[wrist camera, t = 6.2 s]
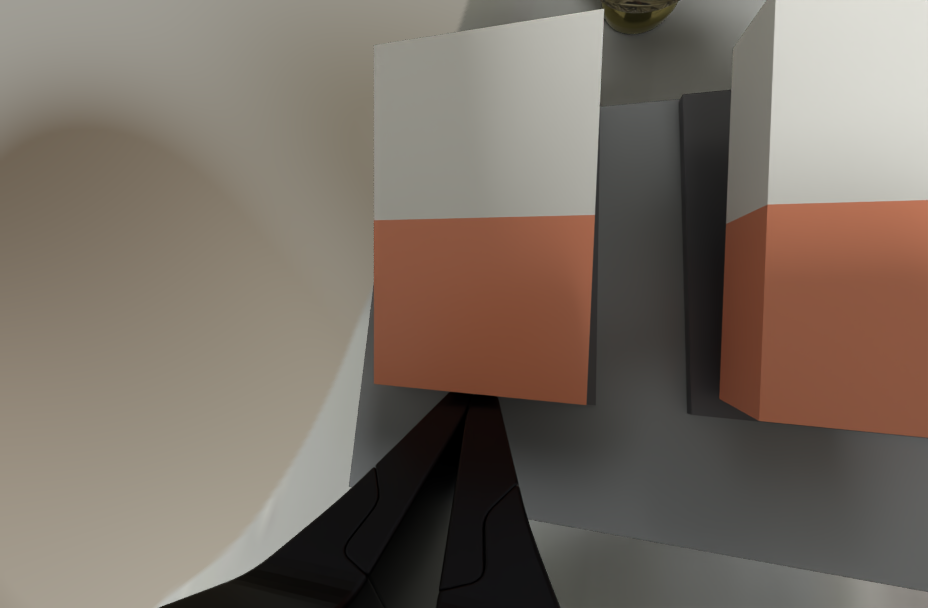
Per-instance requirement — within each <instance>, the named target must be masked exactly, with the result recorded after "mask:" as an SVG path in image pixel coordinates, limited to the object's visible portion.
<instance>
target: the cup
mask: <svg viewBox="0 0 928 608" xmlns="http://www.w3.org/2000/svg"><path fill="white" fill-rule="evenodd" d="M600 1H601V2H602V9H604V17H605V19H606V21H607V23H608V24H609V25H610V26H611V27H612V28H613V29H614V30H616V31H618V32H621V33H624V34H640V33H644V32H647V31H649V30H652V29H654V28H655V27H657V26H658V25H660V24H661V23H662V22H663V21H664V20H665V19H666V18H667V17H668V16H669V15H670V13H671V12H672V11H673V10H674V8H675V7H676V5H677V3H678V1H680V0H600Z"/></svg>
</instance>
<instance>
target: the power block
mask: <svg viewBox="0 0 928 608" xmlns="http://www.w3.org/2000/svg"><path fill="white" fill-rule="evenodd" d="M730 110H731V90H724V91H714V92H704V93H693V94H683V95H682V97H681V99H675V100H665V101H654V102H644V103H633V104H623V105H612V106H601V107H600V113H599V135H598V157H597V180H596V202H595V224H594V247H593V269H592V291H591V314H590V336H589V358H588V381H587V403H586V405H580V404H570V403H560V402H550V401H540V400H530V399H520V398H510V397H500V396H498V399H499V403H500V407H501V411H502V416H503V420H504V424H505V428H506V432H507V437H508V441H509V445H510V449H511V453H512V457H513V462H514V466H515V470H516V474H517V478H518V483H519V487H520V490H521V495H522V499H523V503H524V507H525V510H526V514H527V517H528V519H529V520H535V521H540V522H546V523H551V524H557V525H562V526H568V527H573V528H579V529H584V530H590V531H595V532H601V533H606V534H612V535H617V536H623V537H628V538H634V539H639V540H645V541H650V542H656V543H661V544H667V545H672V546H678V547H683V548H689V549H694V550H700V551H705V552H711V553H716V554H722V555H727V556H733V557H738V558H744V559H749V560H755V561H760V562H766V563H771V564H777V565H782V566H788V567H793V568H799V569H804V570H810V571H815V572H821V573H826V574H832V575H837V576H843V577H848V578H854V579H859V580H865V581H870V582H876V583H881V584H887V585H892V586H898V587H903V588H909V589H914V590H920V591H925V592H928V438H925V437H915V436H905V435H895V434H885V433H875V432H865V431H855V430H845V429H835V428H825V427H815V426H805V425H794V424H784V423H774V422H764V421H758V420H756V419H755V418H753V417H751V416H749V415H747V414H746V413H744V412H742V411H740V410H738V409H737V408H735V407H733V406H731V405H730V404H728V403H726V402H724V401H722V400H721V399H719V393H720V367H721V342H722V316H723V290H724V264H725V239H726V213H727V187H728V161H729V136H730ZM449 392H450V391H440V390H430V389H420V388H410V387H400V386H390V385H380V384H374V286H373V294H372V302H371V310H370V318H369V327H368V335H367V343H366V351H365V359H364V367H363V376H362V384H361V392H360V400H359V408H358V416H357V425H356V433H355V441H354V449H353V457H352V465H351V473H350V482H349V487H353V486H354V485H355V484H356V483H357V482H358V481H359V480H360V479H361V478H362V477H363V476H364V475H365V474H366V473H367V472H368V471H370V470H371V469H372V468H373V467H375V465H376V464H377V463H378V462H379V461H380V460H381V459H382V458H383V457H384V456H385V455H386V454H387V453H388V452H389V451H390V450H391V449H392V448H393V447H394V446H395V445H396V444H397V443H398V442H399V441H400V440H401V439H402V438H403V437H404V436H405V435H406V434H407V433H408V432H409V431H410V430H411V429H412V428H413V427H414V426H415V425H416V424H417V423H418V422H419V421H420V420H421V419H422V418H423V417H424V416H425V415H426V414H427V413H428V412H429V411H430V410H431V409H432V408H433V407H434V406H435V405H436V404H438V403H439V402H440V401H441V400H442V399H443V398H444V397H445V396H446V395H447V394H448V393H449ZM375 468H376V467H375Z"/></svg>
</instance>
